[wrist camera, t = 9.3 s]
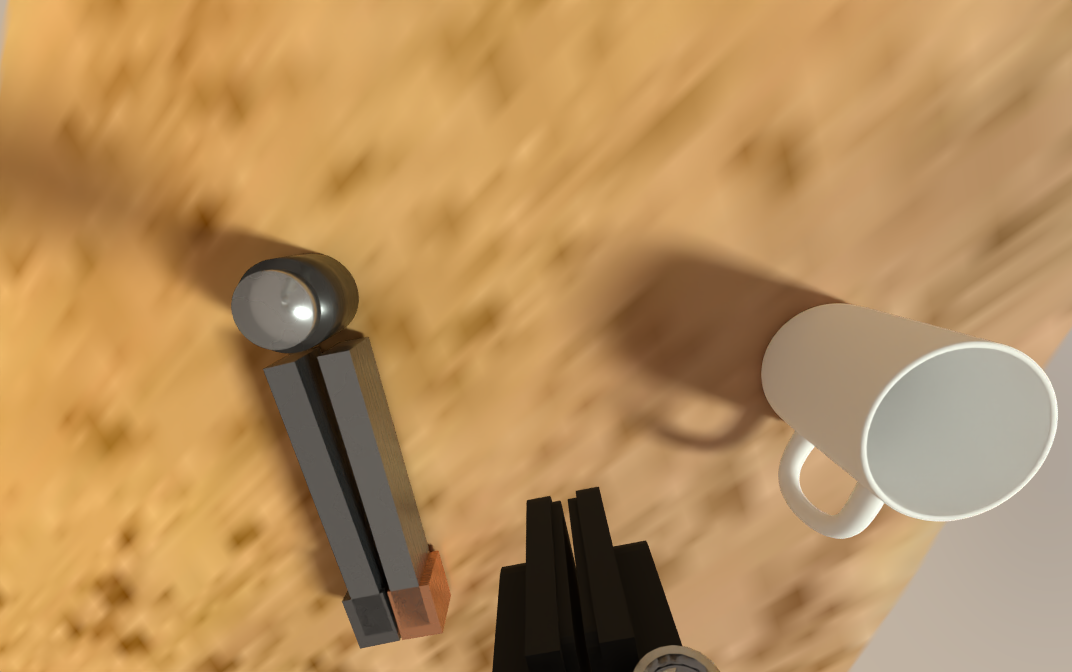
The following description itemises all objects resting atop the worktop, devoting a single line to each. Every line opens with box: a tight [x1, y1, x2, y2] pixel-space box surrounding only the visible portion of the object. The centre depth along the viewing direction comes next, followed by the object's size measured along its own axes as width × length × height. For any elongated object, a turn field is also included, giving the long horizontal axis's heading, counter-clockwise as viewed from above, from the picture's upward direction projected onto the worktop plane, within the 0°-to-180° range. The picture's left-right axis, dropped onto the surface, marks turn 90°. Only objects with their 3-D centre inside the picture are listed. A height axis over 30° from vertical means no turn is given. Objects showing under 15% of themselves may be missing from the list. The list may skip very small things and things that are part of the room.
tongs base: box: [239, 253, 401, 648], centre depth 30 cm, size 24×6×4 cm, turn 13°
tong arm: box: [231, 269, 451, 640], centre depth 29 cm, size 24×5×5 cm, turn 11°
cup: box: [761, 303, 1058, 539], centre depth 26 cm, size 8×12×10 cm
